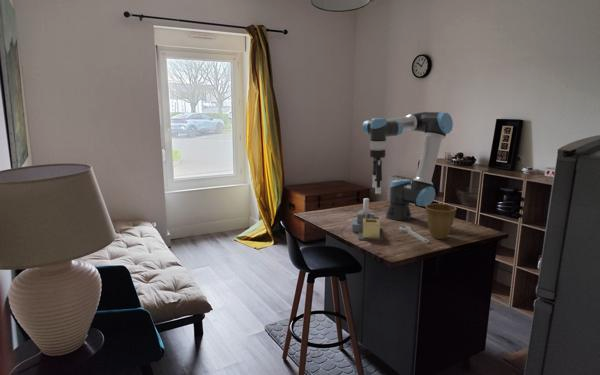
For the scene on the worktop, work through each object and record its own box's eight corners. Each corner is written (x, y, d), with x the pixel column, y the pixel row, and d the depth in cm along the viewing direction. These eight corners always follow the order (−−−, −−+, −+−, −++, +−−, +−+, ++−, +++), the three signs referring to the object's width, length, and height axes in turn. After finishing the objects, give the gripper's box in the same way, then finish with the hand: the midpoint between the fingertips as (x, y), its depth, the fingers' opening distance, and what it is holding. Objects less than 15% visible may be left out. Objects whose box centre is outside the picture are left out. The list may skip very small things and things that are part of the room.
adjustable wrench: (430, 244, 191) (430, 240, 190) (418, 244, 189) (418, 241, 189) (407, 228, 215) (407, 225, 214) (396, 228, 213) (396, 225, 213)
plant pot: (437, 230, 210) (440, 202, 206) (460, 239, 197) (463, 208, 193) (417, 234, 203) (419, 205, 200) (438, 243, 190) (441, 212, 187)
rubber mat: (381, 234, 203) (381, 233, 203) (383, 241, 192) (383, 240, 192) (358, 233, 204) (358, 232, 204) (359, 240, 193) (359, 239, 193)
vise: (376, 226, 216) (378, 197, 212) (378, 232, 205) (380, 201, 202) (351, 225, 217) (352, 196, 214) (352, 231, 206) (353, 200, 203)
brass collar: (377, 233, 202) (378, 219, 200) (379, 238, 194) (380, 223, 192) (362, 233, 202) (362, 218, 201) (363, 238, 195) (363, 222, 193)
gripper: (368, 146, 207) (367, 185, 211) (372, 152, 182) (371, 196, 187) (382, 146, 206) (380, 185, 211) (388, 152, 182) (387, 196, 186)
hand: (376, 190), depth 199 cm, fingers open, 13 cm apart
